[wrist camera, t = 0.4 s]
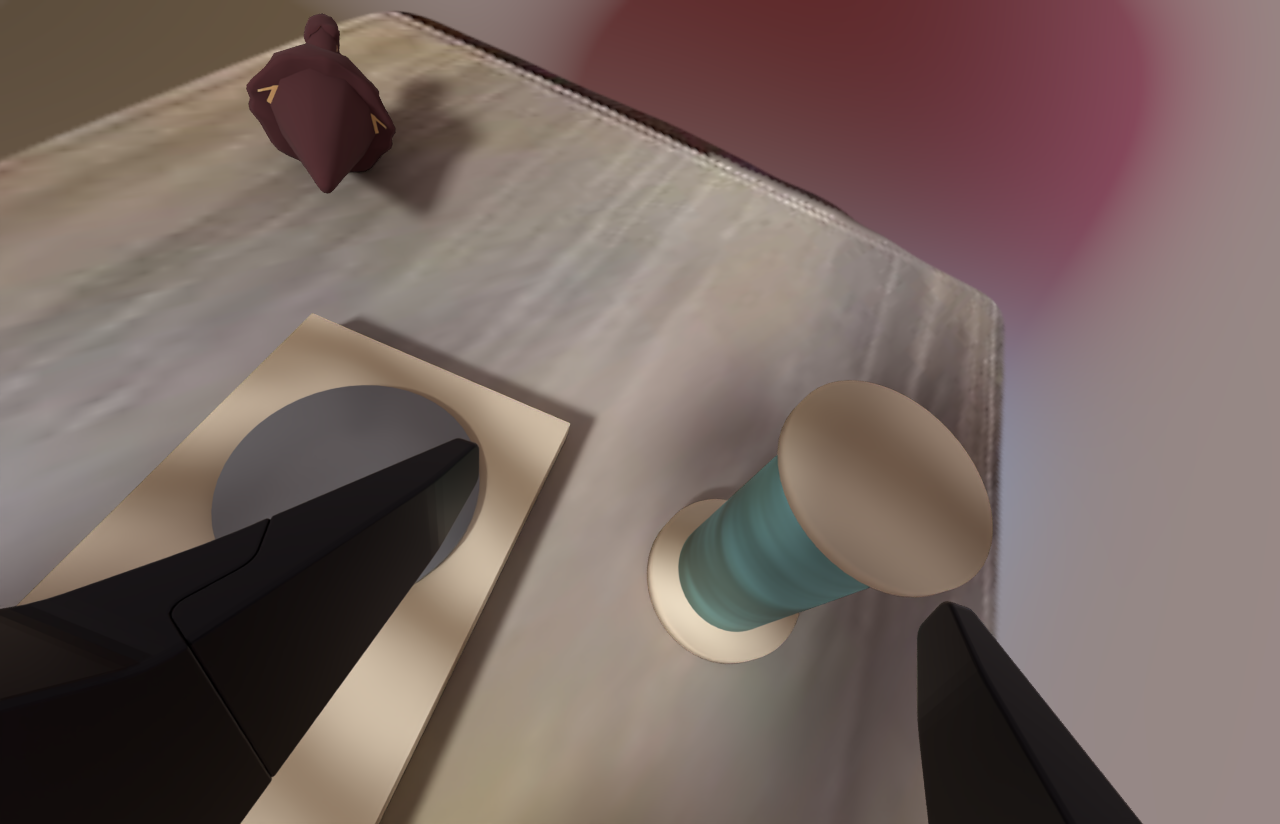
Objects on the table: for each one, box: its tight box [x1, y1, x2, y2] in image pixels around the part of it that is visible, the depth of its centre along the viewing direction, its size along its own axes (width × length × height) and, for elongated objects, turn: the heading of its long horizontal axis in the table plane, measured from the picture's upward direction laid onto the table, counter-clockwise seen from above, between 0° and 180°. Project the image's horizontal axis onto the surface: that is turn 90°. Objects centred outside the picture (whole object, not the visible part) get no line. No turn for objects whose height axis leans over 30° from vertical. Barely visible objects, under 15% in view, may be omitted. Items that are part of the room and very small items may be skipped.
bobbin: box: [647, 380, 993, 664], centre depth 20 cm, size 8×8×13 cm
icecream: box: [246, 14, 395, 193], centre depth 31 cm, size 7×7×15 cm
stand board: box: [17, 313, 570, 824], centre depth 21 cm, size 20×14×2 cm
